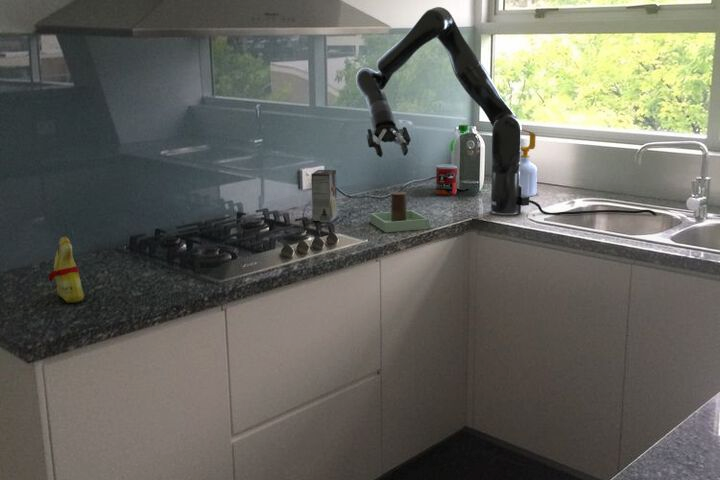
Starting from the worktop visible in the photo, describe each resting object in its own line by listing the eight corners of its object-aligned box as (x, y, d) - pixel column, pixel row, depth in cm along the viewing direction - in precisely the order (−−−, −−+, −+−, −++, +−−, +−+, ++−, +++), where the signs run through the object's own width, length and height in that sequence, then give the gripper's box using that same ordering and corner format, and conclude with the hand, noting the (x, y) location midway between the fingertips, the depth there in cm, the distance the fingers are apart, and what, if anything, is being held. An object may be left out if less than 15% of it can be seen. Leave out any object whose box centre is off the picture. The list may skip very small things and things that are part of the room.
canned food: (432, 195, 314) (432, 166, 312) (442, 191, 321) (442, 163, 318) (450, 196, 310) (451, 167, 308) (460, 193, 317) (460, 164, 314)
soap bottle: (507, 193, 317) (510, 128, 311) (529, 191, 319) (532, 127, 313) (517, 197, 308) (520, 131, 302) (540, 196, 310) (543, 130, 304)
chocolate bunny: (73, 290, 202) (67, 230, 199) (88, 301, 194) (82, 239, 190) (44, 295, 198) (38, 235, 195) (58, 307, 190) (52, 244, 186)
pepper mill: (403, 221, 269) (403, 191, 266) (408, 224, 264) (408, 193, 262) (389, 222, 267) (389, 192, 265) (394, 225, 263) (394, 194, 260)
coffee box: (319, 216, 281) (317, 169, 277) (337, 216, 279) (336, 169, 276) (312, 222, 272) (310, 173, 268) (331, 222, 271) (330, 174, 267)
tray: (412, 219, 275) (412, 210, 274) (428, 228, 261) (428, 219, 260) (370, 222, 270) (370, 213, 270) (385, 232, 257) (385, 222, 256)
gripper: (364, 110, 276) (375, 149, 268) (404, 108, 280) (416, 146, 272) (359, 125, 282) (370, 163, 275) (398, 122, 287) (410, 160, 279)
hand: (393, 154), depth 274 cm, fingers open, 8 cm apart
